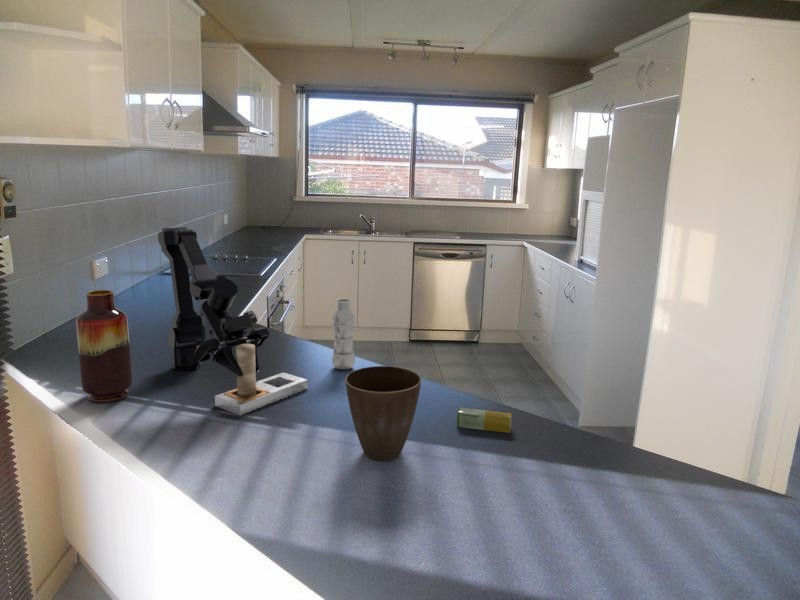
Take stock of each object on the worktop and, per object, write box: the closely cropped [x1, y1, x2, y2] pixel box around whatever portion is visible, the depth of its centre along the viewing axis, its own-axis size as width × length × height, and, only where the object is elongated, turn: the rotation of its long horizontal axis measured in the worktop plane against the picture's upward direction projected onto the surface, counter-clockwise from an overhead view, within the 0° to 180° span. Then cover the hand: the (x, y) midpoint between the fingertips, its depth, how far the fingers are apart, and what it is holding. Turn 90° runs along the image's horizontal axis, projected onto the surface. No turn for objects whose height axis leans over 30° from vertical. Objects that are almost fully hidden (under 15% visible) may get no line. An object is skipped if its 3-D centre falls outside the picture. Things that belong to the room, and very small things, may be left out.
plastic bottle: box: [331, 298, 356, 370], centre depth 170 cm, size 6×7×20 cm
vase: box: [75, 289, 133, 404], centre depth 144 cm, size 11×11×26 cm
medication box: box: [456, 407, 512, 434], centre depth 134 cm, size 12×3×4 cm, turn 78°
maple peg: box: [235, 344, 257, 399], centre depth 143 cm, size 4×4×13 cm
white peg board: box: [214, 372, 309, 416], centre depth 149 cm, size 22×9×3 cm, turn 144°
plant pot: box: [344, 365, 422, 462], centre depth 119 cm, size 15×15×16 cm
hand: (249, 373), depth 142 cm, fingers closed on maple peg, 4 cm apart
